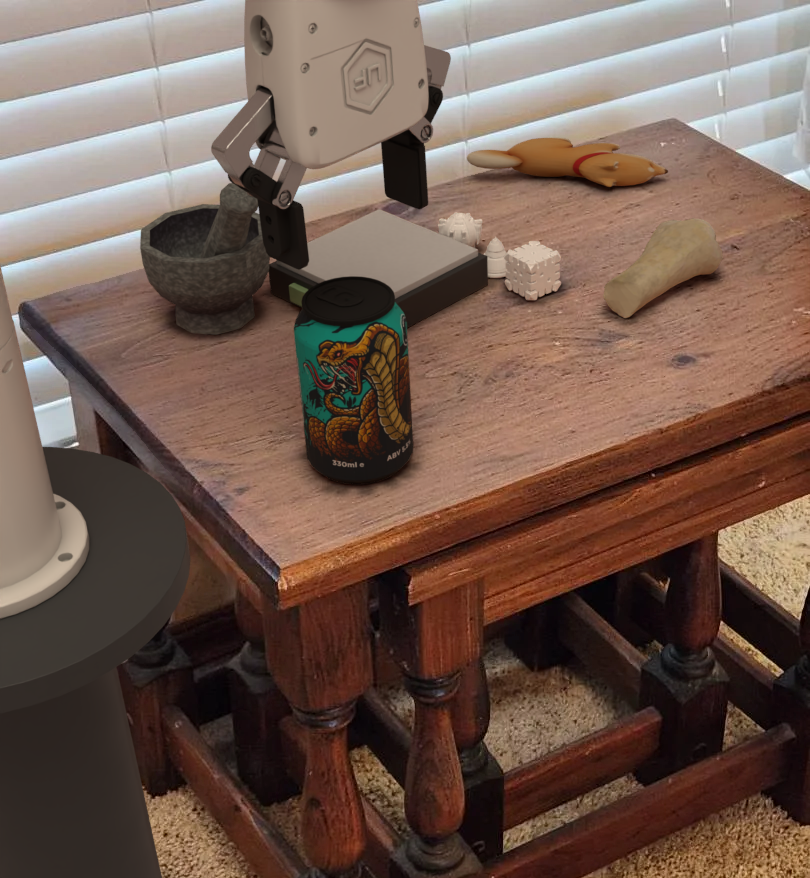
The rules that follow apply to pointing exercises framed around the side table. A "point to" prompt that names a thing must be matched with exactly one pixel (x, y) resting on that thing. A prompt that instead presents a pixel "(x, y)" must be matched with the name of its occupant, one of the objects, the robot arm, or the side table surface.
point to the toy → (570, 161)
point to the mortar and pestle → (208, 261)
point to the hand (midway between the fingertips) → (348, 230)
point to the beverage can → (354, 380)
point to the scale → (389, 264)
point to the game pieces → (509, 258)
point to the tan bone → (665, 264)
